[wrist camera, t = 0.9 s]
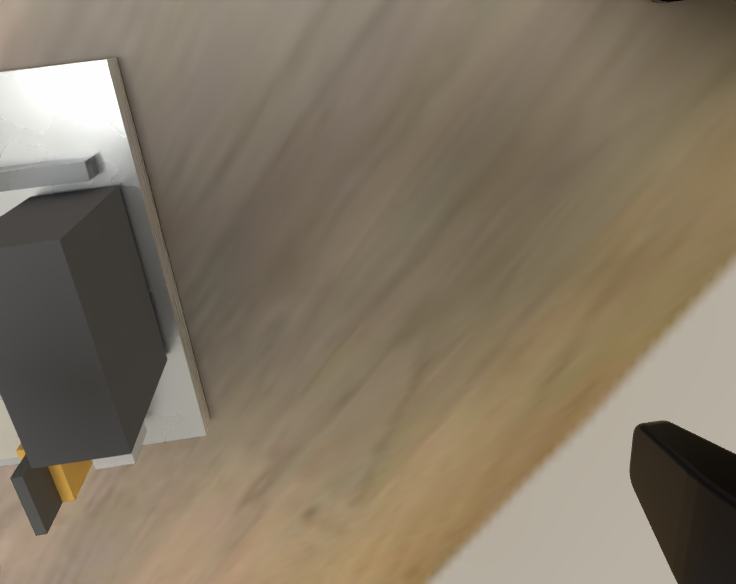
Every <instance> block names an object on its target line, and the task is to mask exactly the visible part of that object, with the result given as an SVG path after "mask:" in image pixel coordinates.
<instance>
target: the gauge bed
mask: <svg viewBox="0 0 736 584" xmlns="http://www.w3.org/2000/svg"><path fill="white" fill-rule="evenodd" d="M117 185H119V188H120V192H121V196H122V199H123V203H124V206H125V210H126V213H127V217H128V220H129V224H130V228H131V231H132V235H133V238H134V242H135V245H136V249H137V252H138V256H139V260H140V263H141V267H142V270H143V274H144V277H145V281H146V285H147V288H148V292H149V295H150V299H151V302H152V306H153V309H154V313H155V317H156V320H157V324H158V327H159V331H160V334H161V338H162V342H163V345H164V349H165V352H166V356H167V359H168V360H167V362H166V365H165V367H164V370H163V373H162V375H161V378H160V380H159V383H158V386H157V388H156V391H155V393H154V396H153V399H152V401H151V404H150V406H149V409H148V411H147V414H146V417H145V419H144V423H145V426H146V429H147V433H146V436H145V438H144V441H143V444H142V445H147V444H154V443H161V442H167V441H174V440H181V439H187V438H194V437H201V436H206V435H207V431H208V426H209V422H210V415H209V411H208V408H207V404H206V400H205V396H204V392H203V388H202V384H201V381H200V377H199V373H198V369H197V365H196V361H195V357H194V354H193V350H192V346H191V342H190V338H189V334H188V330H187V327H186V323H185V319H184V315H183V311H182V307H181V303H180V300H179V296H178V292H177V288H176V284H175V280H174V276H173V273H172V269H171V265H170V261H169V257H168V253H167V249H166V246H165V242H164V238H163V234H162V230H161V226H160V222H159V219H158V215H157V211H156V207H155V203H154V199H153V195H152V192H151V188H150V184H149V180H148V176H147V172H146V168H145V165H144V161H143V157H142V153H141V149H140V145H139V141H138V138H137V134H136V130H135V126H134V122H133V118H132V114H131V111H130V107H129V103H128V99H127V95H126V91H125V88H124V84H123V80H122V76H121V72H120V68H119V64H118V61H117V57H116V58H108V59H99V60H91V61H83V62H74V63H66V64H58V65H49V66H41V67H32V68H24V69H16V70H7V71H0V216H2V215H4V214H5V213H7V212H8V211H10V210H11V209H13V208H14V207H16V206H17V205H19V204H20V203H22V202H23V201H25V200H26V199H28V198H29V197H32V196H39V195H47V194H55V193H63V192H70V191H78V190H86V189H94V188H101V187H109V186H117ZM20 444H21V442H20V439H19V437H18V435H17V432H16V430H15V427H14V425H13V423H12V420H11V418H10V416H9V413H8V411H7V409H6V406H5V404H4V401H3V399H2V397H1V394H0V466H7V465H13V464H20V462H21V461H20V459H19V456H18V454H17V452H16V450H17V448H18V447H19V445H20Z"/></svg>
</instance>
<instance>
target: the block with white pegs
mask: <svg viewBox="0 0 736 584" xmlns="http://www.w3.org/2000/svg"><path fill="white" fill-rule="evenodd" d="M167 360H168V359H167V356H166V352H165V349H164V345H163V342H162V338H161V334H160V331H159V327H158V324H157V320H156V317H155V313H154V309H153V306H152V302H151V299H150V295H149V292H148V288H147V285H146V281H145V277H144V274H143V270H142V267H141V263H140V260H139V256H138V252H137V249H136V245H135V242H134V238H133V235H132V231H131V228H130V224H129V220H128V217H127V213H126V210H125V206H124V203H123V199H122V196H121V192H120V188H119V185H117V186H109V187H101V188H94V189H86V190H78V191H70V192H63V193H55V194H47V195H39V196H32V197H29V198H28V199H26V200H25V201H23V202H22V203H20V204H19V205H17V206H16V207H14V208H13V209H11V210H10V211H8V212H7V213H5V214H4V215H2V216H0V394H1V397H2V399H3V401H4V404H5V406H6V409H7V411H8V413H9V416H10V418H11V420H12V423H13V425H14V427H15V430H16V432H17V435H18V437H19V439H20V442H21V444H22V446H23V449H24V451H25V454H26V456H27V458H28V461H29V463H30V465H31V468H32V469H34V468H40V467H47V466H54V465H60V464H67V463H74V462H80V461H87V460H92V462H93V465H94V468H95V469H102V468H109V467H115V466H122V465H128V464H135V463H136V460H137V457H138V455H139V452H140V449H141V446H142V444H143V441H144V438H145V436H146V433H147V429H146V426H145V423H144V419H145V417H146V414H147V411H148V409H149V406H150V404H151V401H152V399H153V396H154V393H155V391H156V388H157V386H158V383H159V380H160V378H161V375H162V373H163V370H164V367H165V365H166V362H167Z"/></svg>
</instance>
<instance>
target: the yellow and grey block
mask: <svg viewBox="0 0 736 584" xmlns="http://www.w3.org/2000/svg"><path fill="white" fill-rule="evenodd" d="M16 452H17V454H18V456H19V459H20V461H21V462H20V464H19V465H18V467H17V468H16V470H15V472H14V473H13V475H12V476H11V478H10V479H11V481H12V483H13V485H14V488H15V490H16V492H17V494H18V497H19V499H20V501H21V503H22V506H23V508H24V510H25V512H26V514H27V517H28V519H29V521H30V523H31V526H32V528H33V530H34V532H35V535H36V536H37V535H43V534H47V533H48V531H49V529H50V527H51V525H52V523H53V521H54V519H55V517H56V515H57V513H58V511H59V509H60V506H61V504H62V502H68V501H74V500H75V499H76V497H77V495H78V492H79V490H80V488H81V486H82V484H83V482H84V480H85V477H86V475H87V473H88V471H89V469H90V467H91V465H92V460H87V461H80V462H74V463H67V464H60V465H54V466H47V467H40V468H34V469H32V468H31V465H30V463H29V461H28V458H27V456H26V454H25V451H24V449H23V446H22V444H20V445H19V447H18V448H17V450H16Z"/></svg>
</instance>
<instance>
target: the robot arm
mask: <svg viewBox="0 0 736 584" xmlns="http://www.w3.org/2000/svg"><path fill="white" fill-rule="evenodd" d="M652 1H654V2H673V1H681V0H652ZM630 479H631V483H632V486H633V488H634V491H635V493H636V495H637V497H638V499H639V501H640V503H641V506H642V508H643V510H644V512H645V514H646V517H647V519H648V521H649V523H650V525H651V527H652V530H653V532H654V534H655V536H656V538H657V540H658V542H659V545H660V547H661V549H662V551H663V553H664V555H665V558H666V560H667V562H668V564H669V566H670V569H671V571H672V573H673V575H674V577H675V579H676V581H677V583H678V584H736V454H735V453H732V452H730V451H728V450H726V449H724V448H722V447H720V446H718V445H716V444H714V443H712V442H710V441H708V440H706V439H703V438H702V437H700V436H698V435H696V434H693V433H691V432H689V431H687V430H685V429H683V428H681V427H679V426H677V425H675V424H673V423H671V422H668V421H655V422H648V423H641V424H639V425H637V426H636V428H635V429H634V433H633V442H632V451H631V460H630Z"/></svg>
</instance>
